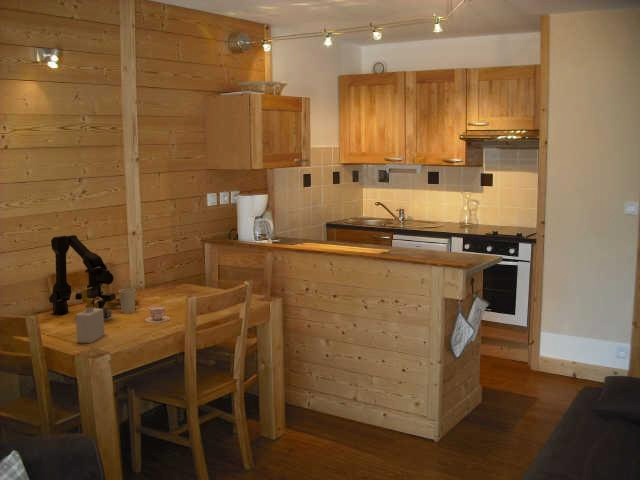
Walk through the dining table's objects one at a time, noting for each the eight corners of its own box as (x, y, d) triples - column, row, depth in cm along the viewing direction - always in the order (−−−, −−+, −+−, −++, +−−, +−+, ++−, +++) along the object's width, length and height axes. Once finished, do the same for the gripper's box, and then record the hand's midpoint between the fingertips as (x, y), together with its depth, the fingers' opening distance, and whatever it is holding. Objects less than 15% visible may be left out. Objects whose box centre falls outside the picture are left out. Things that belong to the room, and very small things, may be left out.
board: (75, 325, 331) (75, 323, 331) (95, 315, 349) (95, 313, 349) (98, 326, 329) (97, 324, 328) (117, 316, 346) (117, 314, 346)
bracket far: (91, 317, 341) (90, 311, 341) (95, 315, 345) (95, 309, 345) (107, 318, 339) (106, 312, 339) (111, 316, 343) (111, 310, 343)
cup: (132, 315, 348) (130, 292, 346) (117, 315, 349) (116, 291, 347) (139, 311, 355) (138, 288, 353) (124, 311, 357) (123, 288, 355)
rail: (84, 320, 332) (84, 313, 331) (101, 312, 346) (101, 305, 345) (91, 321, 331) (90, 313, 330) (108, 313, 345) (107, 306, 344)
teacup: (139, 321, 337) (139, 309, 336) (154, 315, 348) (153, 303, 347) (160, 324, 333) (160, 311, 332) (174, 318, 344) (174, 305, 343)
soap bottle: (90, 343, 302) (87, 290, 298) (76, 342, 303) (73, 290, 300) (105, 335, 314) (102, 284, 310) (91, 334, 315) (88, 284, 312)
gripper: (67, 284, 330) (69, 316, 333) (103, 286, 326) (105, 319, 328) (81, 280, 341) (82, 311, 343) (115, 281, 337) (117, 313, 339)
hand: (96, 313), depth 338 cm, fingers closed on rail, 3 cm apart
